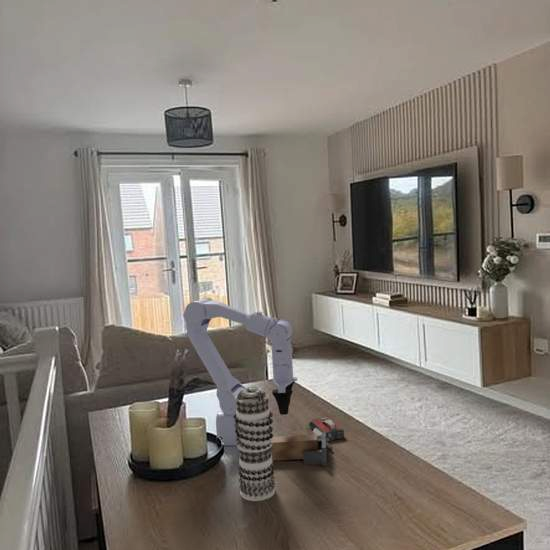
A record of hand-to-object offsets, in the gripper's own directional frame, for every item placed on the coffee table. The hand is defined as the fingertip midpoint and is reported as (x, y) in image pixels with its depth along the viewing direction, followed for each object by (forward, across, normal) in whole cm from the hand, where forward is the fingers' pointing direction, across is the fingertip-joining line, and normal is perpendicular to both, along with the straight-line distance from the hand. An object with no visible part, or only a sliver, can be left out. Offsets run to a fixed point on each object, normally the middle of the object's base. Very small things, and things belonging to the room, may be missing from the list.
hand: (285, 409), depth 148 cm
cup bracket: (+10, -9, -8) cm, 16 cm away
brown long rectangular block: (+10, -9, -1) cm, 14 cm away
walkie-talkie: (+11, +5, -12) cm, 17 cm away
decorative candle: (+11, -27, +5) cm, 29 cm away
